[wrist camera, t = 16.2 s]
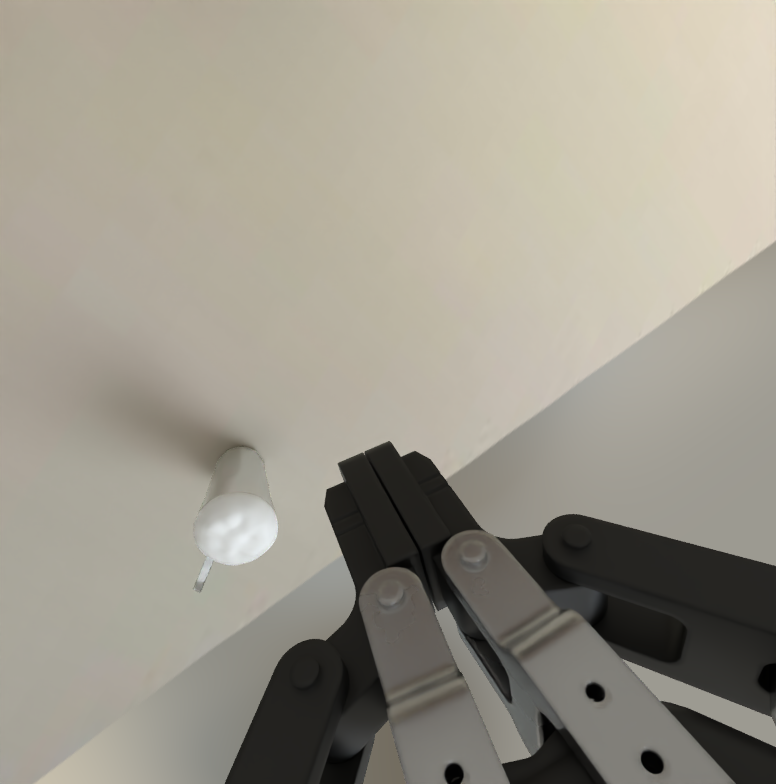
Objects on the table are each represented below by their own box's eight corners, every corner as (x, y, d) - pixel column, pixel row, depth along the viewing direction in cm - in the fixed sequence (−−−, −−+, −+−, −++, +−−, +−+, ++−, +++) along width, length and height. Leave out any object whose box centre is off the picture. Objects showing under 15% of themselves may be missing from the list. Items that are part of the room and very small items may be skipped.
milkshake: (185, 480, 35) (159, 570, 25) (236, 424, 34) (229, 496, 25) (237, 514, 36) (230, 610, 27) (286, 461, 36) (296, 541, 27)
